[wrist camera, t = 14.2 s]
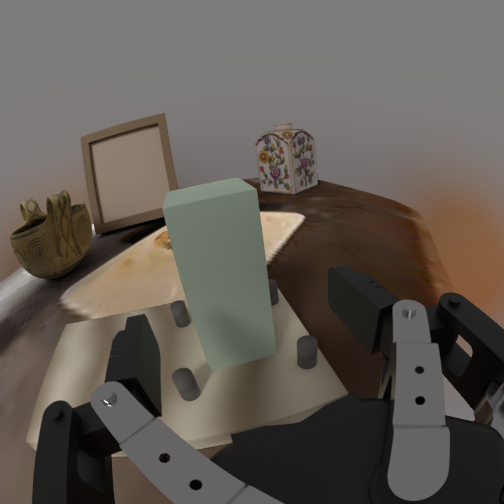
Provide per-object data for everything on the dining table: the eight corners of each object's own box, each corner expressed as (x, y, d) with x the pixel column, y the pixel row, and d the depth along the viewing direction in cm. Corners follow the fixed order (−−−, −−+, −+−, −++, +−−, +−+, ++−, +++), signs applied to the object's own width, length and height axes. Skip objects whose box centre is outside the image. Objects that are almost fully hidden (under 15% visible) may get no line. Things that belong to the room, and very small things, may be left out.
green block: (210, 371, 19) (162, 208, 14) (202, 330, 23) (166, 192, 18) (276, 354, 19) (256, 189, 14) (258, 316, 24) (237, 177, 19)
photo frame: (183, 216, 62) (163, 109, 52) (97, 238, 58) (73, 136, 48) (181, 203, 75) (165, 117, 65) (109, 222, 71) (91, 138, 61)
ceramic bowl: (18, 281, 42) (-6, 215, 36) (74, 247, 55) (56, 187, 49) (50, 306, 32) (13, 210, 26) (126, 256, 45) (103, 173, 39)
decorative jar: (294, 195, 66) (286, 122, 59) (259, 192, 74) (250, 126, 66) (319, 185, 73) (313, 121, 66) (286, 183, 81) (279, 124, 74)
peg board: (37, 451, 12) (9, 426, 10) (72, 334, 26) (58, 310, 24) (345, 405, 16) (352, 374, 14) (273, 290, 30) (270, 262, 28)
